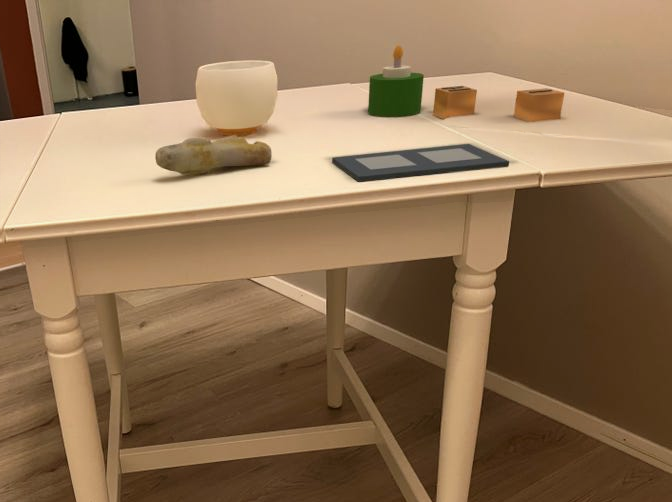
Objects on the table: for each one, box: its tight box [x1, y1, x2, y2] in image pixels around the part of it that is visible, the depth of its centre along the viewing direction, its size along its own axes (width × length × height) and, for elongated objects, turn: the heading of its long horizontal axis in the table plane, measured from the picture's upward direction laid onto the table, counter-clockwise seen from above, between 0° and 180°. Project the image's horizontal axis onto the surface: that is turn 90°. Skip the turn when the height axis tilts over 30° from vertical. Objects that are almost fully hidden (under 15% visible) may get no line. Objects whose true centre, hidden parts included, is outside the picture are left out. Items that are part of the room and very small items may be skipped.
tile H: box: [432, 85, 478, 120], centre depth 108 cm, size 4×4×4 cm
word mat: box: [331, 143, 510, 183], centre depth 85 cm, size 18×10×1 cm, turn 97°
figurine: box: [155, 135, 272, 176], centre depth 88 cm, size 5×5×15 cm
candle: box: [367, 44, 425, 118], centre depth 113 cm, size 8×8×10 cm
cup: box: [195, 59, 278, 137], centre depth 107 cm, size 12×12×10 cm
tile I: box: [513, 87, 565, 123], centre depth 101 cm, size 4×4×4 cm
